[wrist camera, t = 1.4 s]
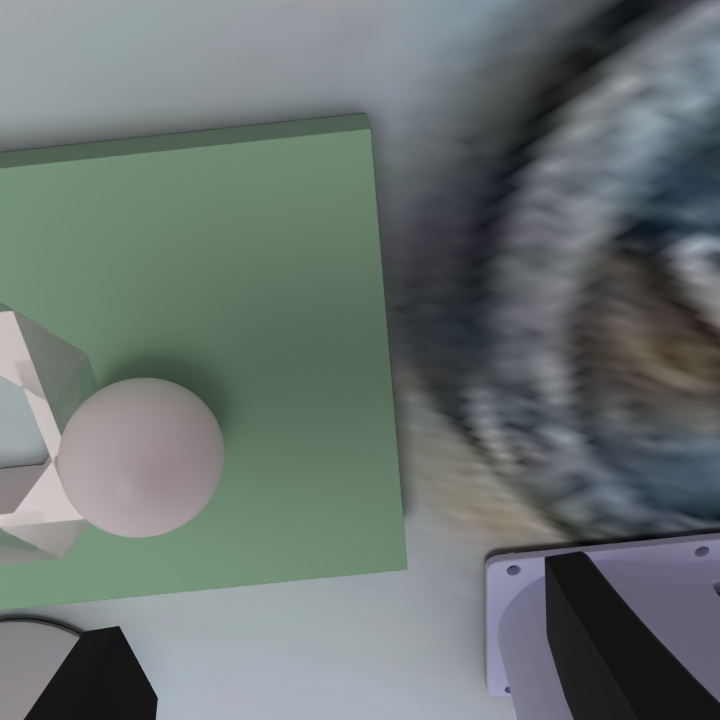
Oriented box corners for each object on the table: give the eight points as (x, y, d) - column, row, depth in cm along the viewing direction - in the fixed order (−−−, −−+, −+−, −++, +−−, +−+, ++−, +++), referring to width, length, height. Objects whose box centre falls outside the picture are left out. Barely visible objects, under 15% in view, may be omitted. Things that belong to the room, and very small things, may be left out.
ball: (218, 342, 18) (190, 428, 14) (245, 462, 19) (226, 564, 16) (69, 358, 18) (4, 447, 14) (110, 476, 20) (63, 580, 16)
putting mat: (365, 112, 17) (370, 128, 15) (400, 519, 24) (407, 569, 22) (-315, 186, 17) (-403, 211, 15) (-90, 568, 24) (-130, 623, 22)
